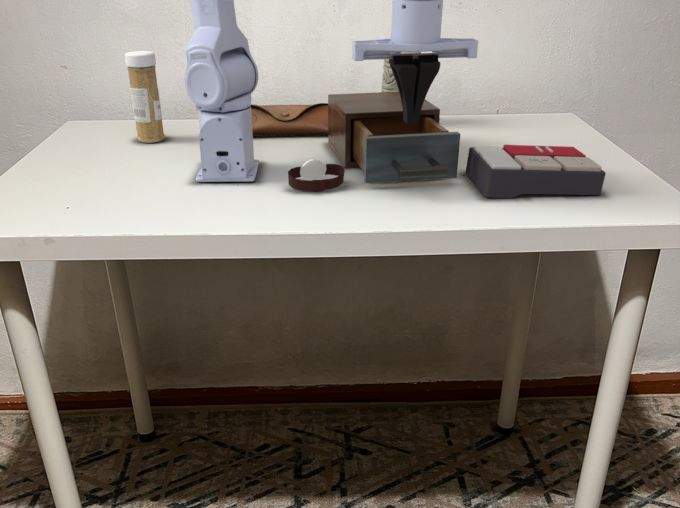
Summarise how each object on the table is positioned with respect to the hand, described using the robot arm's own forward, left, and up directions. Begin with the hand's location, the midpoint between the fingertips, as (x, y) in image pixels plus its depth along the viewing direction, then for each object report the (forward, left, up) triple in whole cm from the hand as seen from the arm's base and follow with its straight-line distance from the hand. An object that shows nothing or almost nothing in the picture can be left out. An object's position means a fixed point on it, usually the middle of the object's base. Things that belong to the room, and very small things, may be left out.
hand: (410, 122), depth 86 cm
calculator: (+3, -17, -9) cm, 19 cm away
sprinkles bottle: (+28, +39, -9) cm, 49 cm away
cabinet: (+19, +2, -9) cm, 21 cm away
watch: (+3, +12, -9) cm, 15 cm away
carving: (+38, -3, -9) cm, 40 cm away
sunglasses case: (+33, +17, -9) cm, 38 cm away
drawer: (+6, 0, -8) cm, 10 cm away
